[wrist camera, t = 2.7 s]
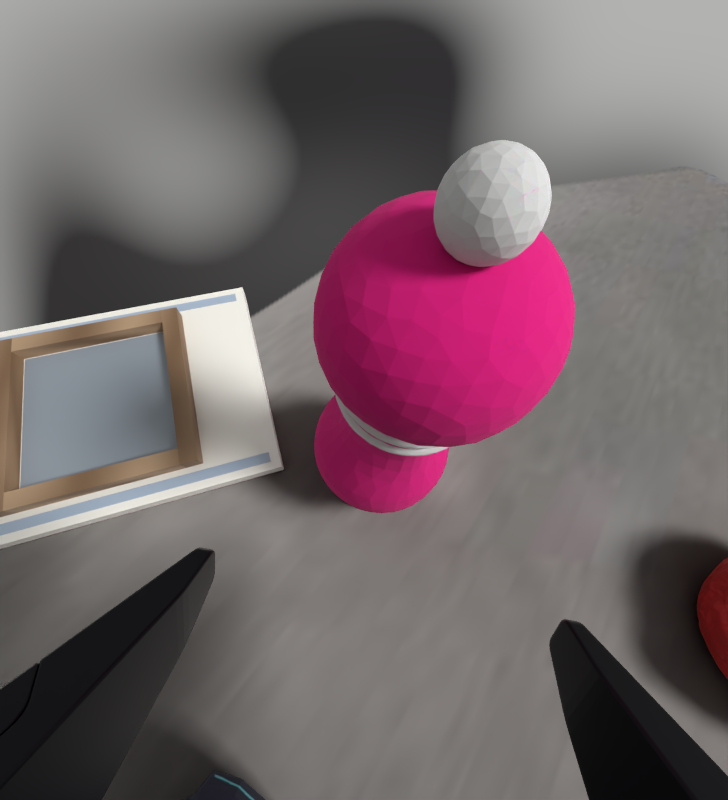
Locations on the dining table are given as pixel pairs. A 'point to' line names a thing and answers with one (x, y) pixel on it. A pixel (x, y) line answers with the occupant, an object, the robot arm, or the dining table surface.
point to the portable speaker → (224, 789)
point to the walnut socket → (3, 451)
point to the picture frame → (142, 414)
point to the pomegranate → (715, 614)
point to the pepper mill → (438, 326)
